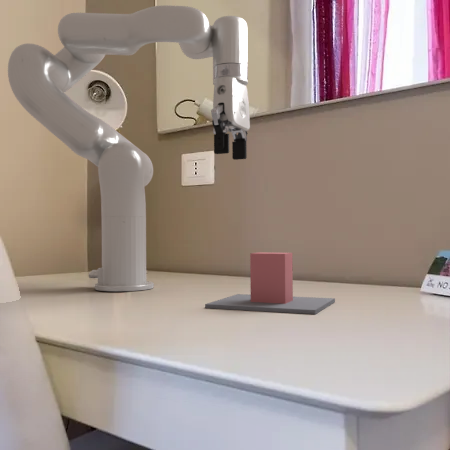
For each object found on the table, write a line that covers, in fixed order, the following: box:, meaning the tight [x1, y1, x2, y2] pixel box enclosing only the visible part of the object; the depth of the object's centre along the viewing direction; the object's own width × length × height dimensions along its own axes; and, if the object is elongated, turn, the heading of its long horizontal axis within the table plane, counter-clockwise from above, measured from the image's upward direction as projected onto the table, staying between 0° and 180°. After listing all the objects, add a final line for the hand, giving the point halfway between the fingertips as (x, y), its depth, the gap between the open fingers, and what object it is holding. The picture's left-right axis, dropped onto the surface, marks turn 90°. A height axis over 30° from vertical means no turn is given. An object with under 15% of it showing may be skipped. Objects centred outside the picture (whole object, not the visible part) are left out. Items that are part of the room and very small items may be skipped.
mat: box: [204, 293, 336, 315], centre depth 88 cm, size 18×14×1 cm
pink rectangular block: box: [249, 251, 294, 304], centre depth 88 cm, size 4×6×8 cm, turn 65°
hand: (230, 156), depth 113 cm, fingers open, 9 cm apart
